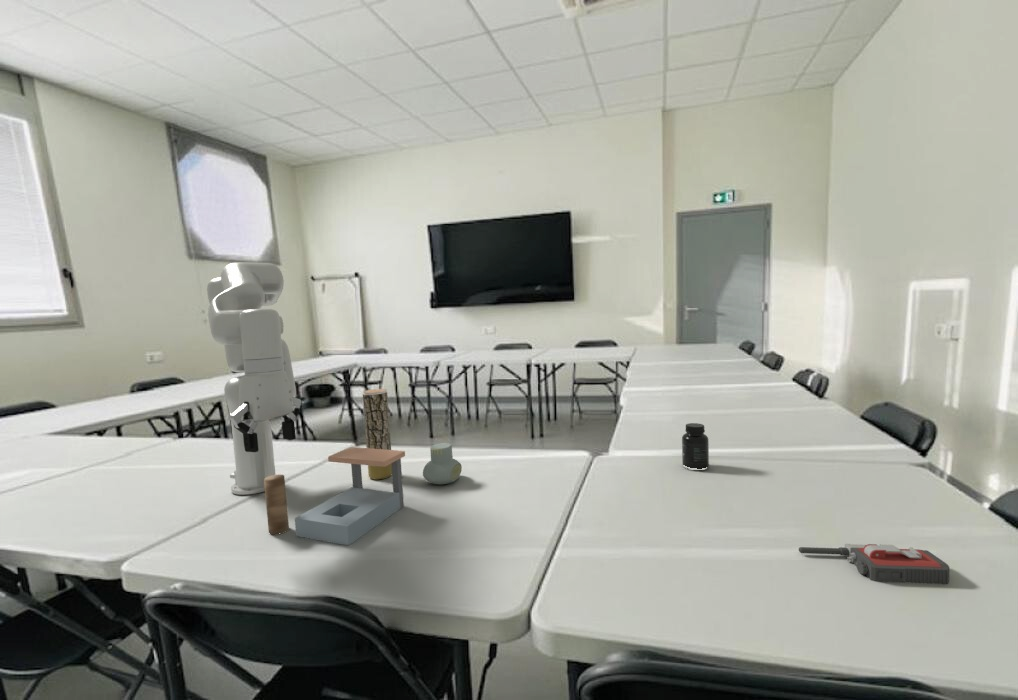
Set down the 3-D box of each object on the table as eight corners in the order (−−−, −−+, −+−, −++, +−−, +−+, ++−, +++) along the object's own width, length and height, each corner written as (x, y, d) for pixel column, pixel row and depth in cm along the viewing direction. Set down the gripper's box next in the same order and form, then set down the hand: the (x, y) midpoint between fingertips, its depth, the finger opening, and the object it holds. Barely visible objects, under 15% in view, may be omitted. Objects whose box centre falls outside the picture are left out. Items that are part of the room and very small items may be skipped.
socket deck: (292, 535, 99) (287, 473, 98) (355, 499, 118) (351, 446, 117) (352, 546, 94) (347, 480, 92) (408, 505, 112) (404, 451, 111)
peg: (264, 533, 101) (259, 480, 100) (279, 525, 105) (275, 473, 104) (278, 536, 100) (273, 481, 99) (293, 527, 103) (288, 475, 102)
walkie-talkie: (920, 558, 80) (796, 554, 84) (921, 533, 80) (796, 530, 83) (961, 587, 72) (820, 582, 75) (962, 560, 71) (820, 556, 75)
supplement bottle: (680, 463, 133) (679, 422, 132) (705, 463, 132) (704, 421, 131) (685, 471, 126) (684, 428, 125) (712, 471, 125) (711, 428, 124)
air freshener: (447, 489, 121) (445, 452, 121) (420, 487, 124) (417, 451, 123) (465, 475, 132) (463, 441, 131) (439, 473, 134) (436, 439, 134)
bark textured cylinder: (386, 480, 130) (380, 393, 128) (364, 480, 132) (357, 393, 130) (396, 472, 137) (391, 388, 135) (375, 471, 138) (369, 389, 136)
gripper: (283, 362, 109) (290, 434, 110) (213, 372, 92) (221, 456, 94) (308, 362, 106) (314, 435, 107) (240, 371, 90) (248, 458, 91)
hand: (271, 445), depth 100 cm, fingers open, 9 cm apart
